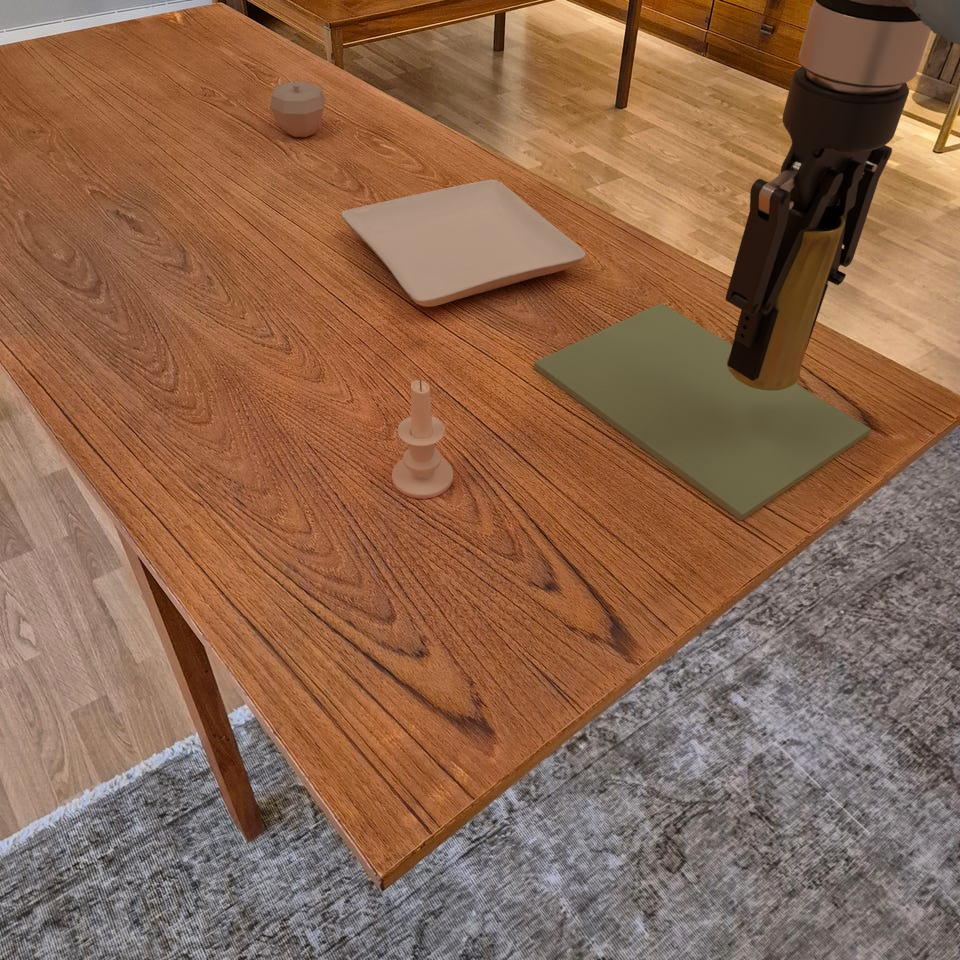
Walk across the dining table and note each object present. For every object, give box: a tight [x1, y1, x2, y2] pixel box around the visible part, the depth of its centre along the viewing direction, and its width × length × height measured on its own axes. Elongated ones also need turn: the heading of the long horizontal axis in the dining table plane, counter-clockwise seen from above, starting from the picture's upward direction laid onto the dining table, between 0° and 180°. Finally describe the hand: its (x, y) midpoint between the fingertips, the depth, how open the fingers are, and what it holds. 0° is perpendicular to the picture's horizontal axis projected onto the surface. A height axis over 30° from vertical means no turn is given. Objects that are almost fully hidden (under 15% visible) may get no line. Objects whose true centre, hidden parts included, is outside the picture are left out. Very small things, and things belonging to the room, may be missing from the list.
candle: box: [391, 379, 454, 500], centre depth 72 cm, size 5×5×10 cm
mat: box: [533, 302, 872, 522], centre depth 84 cm, size 26×18×1 cm
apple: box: [269, 81, 326, 138], centre depth 124 cm, size 8×8×7 cm
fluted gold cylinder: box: [727, 207, 845, 391], centre depth 71 cm, size 6×6×14 cm
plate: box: [340, 178, 587, 308], centre depth 101 cm, size 21×21×3 cm
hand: (767, 357), depth 75 cm, fingers closed on fluted gold cylinder, 6 cm apart
